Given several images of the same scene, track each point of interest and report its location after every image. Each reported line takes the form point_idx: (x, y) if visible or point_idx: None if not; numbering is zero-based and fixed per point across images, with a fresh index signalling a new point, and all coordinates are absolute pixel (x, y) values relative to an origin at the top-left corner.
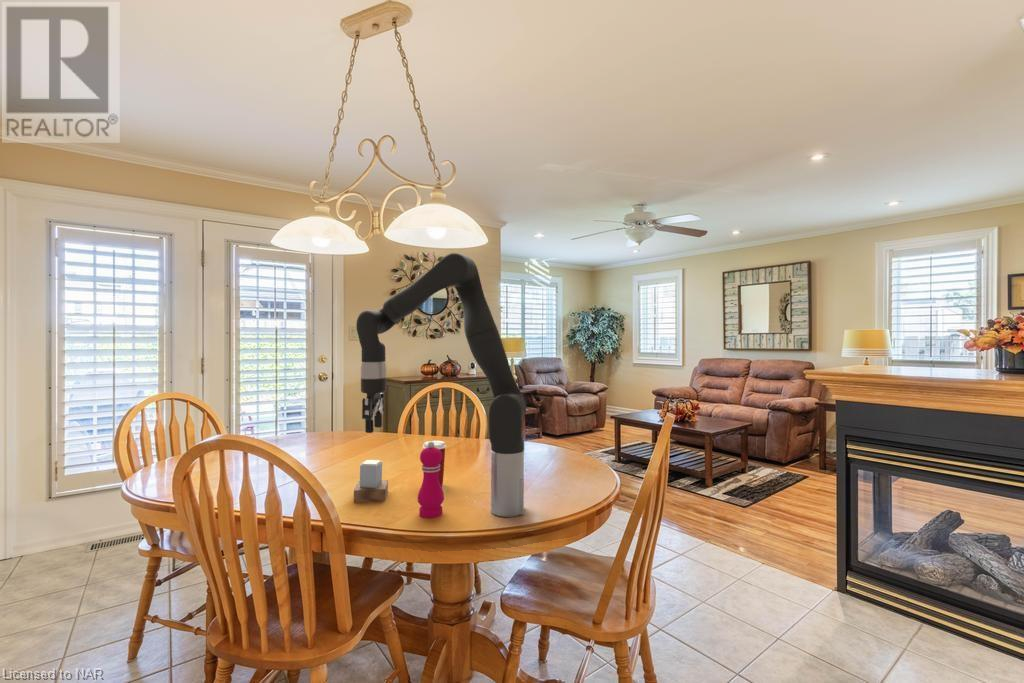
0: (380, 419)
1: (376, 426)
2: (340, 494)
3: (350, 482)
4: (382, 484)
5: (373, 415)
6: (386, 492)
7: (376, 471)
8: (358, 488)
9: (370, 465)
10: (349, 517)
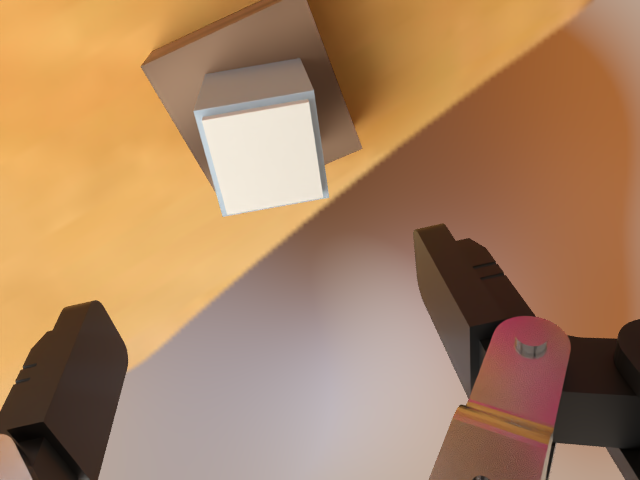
0: (70, 379)
1: (118, 345)
2: (271, 235)
3: (115, 285)
4: (232, 53)
5: (522, 377)
6: (230, 18)
7: (307, 81)
8: (329, 143)
9: (313, 136)
10: (524, 43)
